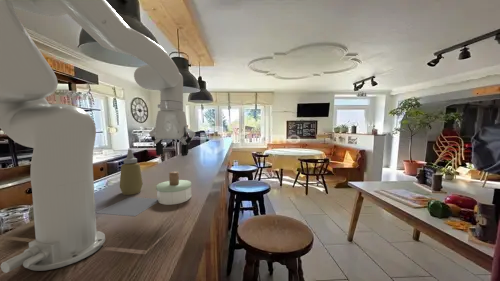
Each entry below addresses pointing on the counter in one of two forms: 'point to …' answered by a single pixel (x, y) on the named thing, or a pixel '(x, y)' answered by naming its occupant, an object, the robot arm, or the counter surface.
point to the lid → (173, 184)
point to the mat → (129, 206)
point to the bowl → (173, 197)
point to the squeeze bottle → (130, 175)
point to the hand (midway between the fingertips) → (172, 155)
